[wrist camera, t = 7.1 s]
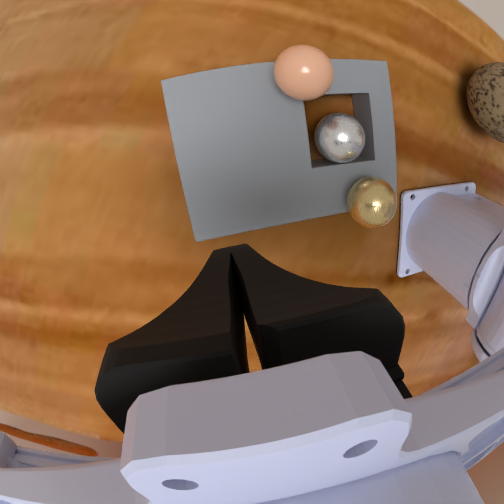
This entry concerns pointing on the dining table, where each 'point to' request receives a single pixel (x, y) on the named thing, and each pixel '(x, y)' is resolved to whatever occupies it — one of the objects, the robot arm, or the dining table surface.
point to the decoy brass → (372, 202)
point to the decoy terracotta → (303, 72)
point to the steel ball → (339, 137)
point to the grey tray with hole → (270, 146)
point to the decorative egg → (488, 99)
